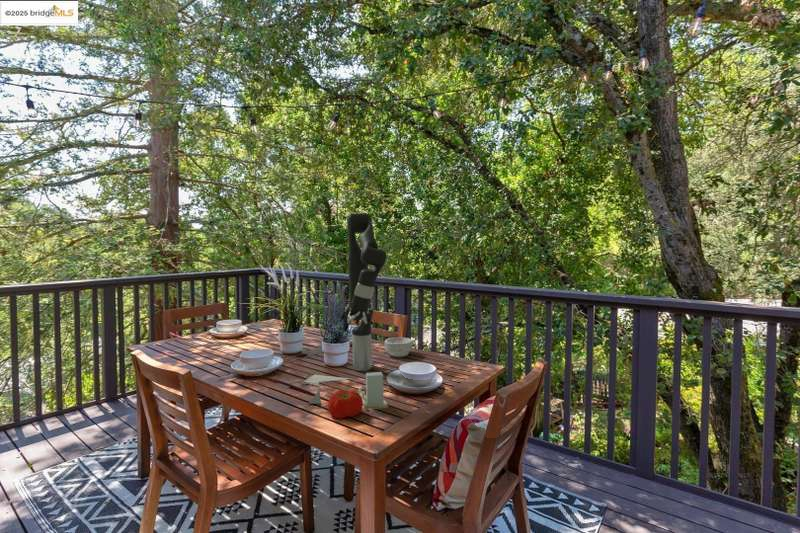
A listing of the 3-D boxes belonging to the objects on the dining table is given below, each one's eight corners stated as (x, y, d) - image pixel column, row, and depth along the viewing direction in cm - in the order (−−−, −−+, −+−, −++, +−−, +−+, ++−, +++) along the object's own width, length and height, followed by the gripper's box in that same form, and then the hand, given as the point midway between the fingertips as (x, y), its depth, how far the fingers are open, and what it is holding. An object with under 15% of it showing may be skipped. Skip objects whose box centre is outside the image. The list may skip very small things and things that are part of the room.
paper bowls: (400, 348, 237) (400, 335, 237) (418, 354, 226) (418, 340, 225) (379, 354, 228) (378, 339, 227) (397, 360, 216) (396, 345, 215)
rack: (358, 394, 173) (358, 388, 172) (379, 392, 175) (379, 386, 174) (364, 412, 155) (364, 406, 155) (388, 410, 157) (388, 403, 157)
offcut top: (364, 389, 171) (364, 386, 171) (372, 388, 172) (372, 384, 172) (369, 393, 166) (369, 390, 166) (377, 392, 168) (377, 388, 168)
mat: (318, 392, 175) (318, 391, 175) (336, 393, 174) (336, 391, 174) (308, 404, 163) (308, 403, 163) (328, 405, 162) (328, 403, 162)
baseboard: (366, 394, 173) (376, 384, 185) (365, 388, 173) (376, 378, 185) (300, 386, 183) (314, 377, 194) (300, 380, 183) (314, 371, 194)
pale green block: (366, 403, 161) (365, 373, 160) (381, 401, 162) (381, 371, 161) (367, 407, 157) (367, 376, 156) (383, 405, 159) (383, 374, 158)
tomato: (318, 418, 151) (317, 394, 150) (341, 405, 161) (341, 383, 161) (347, 428, 143) (346, 403, 143) (370, 414, 154) (369, 391, 153)
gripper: (370, 293, 181) (361, 328, 183) (344, 290, 171) (334, 327, 173) (381, 298, 175) (371, 334, 177) (354, 296, 165) (344, 334, 167)
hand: (353, 331), depth 175 cm, fingers open, 8 cm apart
